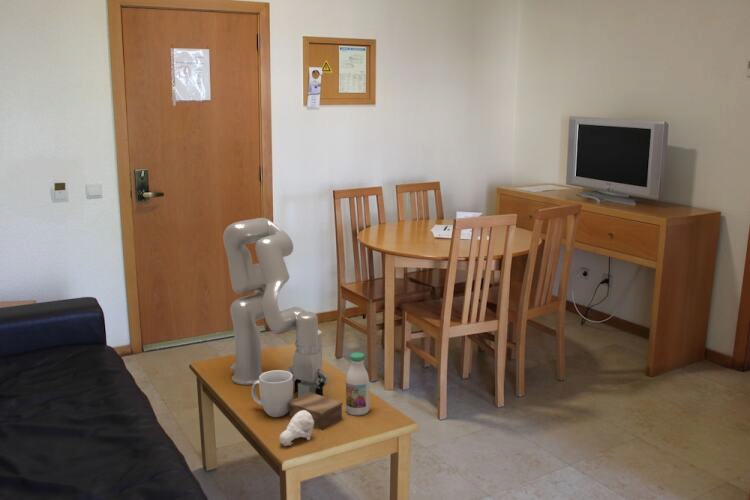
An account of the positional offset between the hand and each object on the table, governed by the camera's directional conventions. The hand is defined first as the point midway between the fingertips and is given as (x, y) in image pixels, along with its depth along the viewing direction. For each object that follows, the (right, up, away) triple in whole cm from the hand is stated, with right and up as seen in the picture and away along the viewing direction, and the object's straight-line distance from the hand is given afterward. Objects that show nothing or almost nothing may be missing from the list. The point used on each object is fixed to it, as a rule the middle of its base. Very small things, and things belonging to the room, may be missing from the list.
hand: (308, 394), depth 252 cm
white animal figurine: (-1, -8, -30) cm, 31 cm away
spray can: (+1, +1, +13) cm, 13 cm away
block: (0, -2, 0) cm, 2 cm away
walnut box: (+4, -5, -15) cm, 16 cm away
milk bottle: (+17, -4, -10) cm, 20 cm away
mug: (-10, -4, -10) cm, 15 cm away
